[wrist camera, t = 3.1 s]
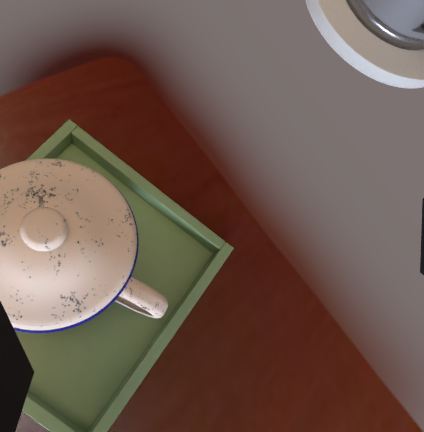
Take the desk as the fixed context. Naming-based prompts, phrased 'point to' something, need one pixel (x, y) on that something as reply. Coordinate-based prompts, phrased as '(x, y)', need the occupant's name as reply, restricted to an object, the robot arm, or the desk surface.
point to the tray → (116, 313)
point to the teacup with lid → (66, 247)
